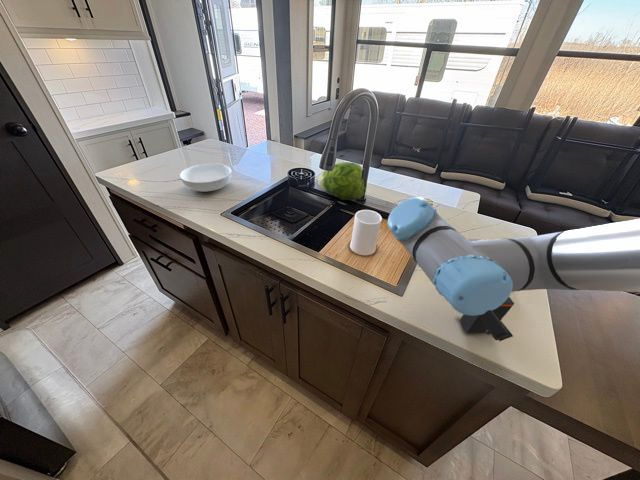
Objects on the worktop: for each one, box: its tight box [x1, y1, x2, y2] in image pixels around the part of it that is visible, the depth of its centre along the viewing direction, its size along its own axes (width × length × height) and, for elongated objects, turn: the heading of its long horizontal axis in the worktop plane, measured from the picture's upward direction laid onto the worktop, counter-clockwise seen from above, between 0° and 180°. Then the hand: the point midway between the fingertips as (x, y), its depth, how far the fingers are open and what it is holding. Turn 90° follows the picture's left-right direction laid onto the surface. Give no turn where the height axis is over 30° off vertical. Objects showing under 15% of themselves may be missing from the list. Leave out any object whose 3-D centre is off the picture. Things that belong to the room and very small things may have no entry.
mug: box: [349, 209, 383, 256], centre depth 81 cm, size 12×8×12 cm
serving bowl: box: [179, 162, 233, 192], centre depth 111 cm, size 21×21×7 cm
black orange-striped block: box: [459, 296, 515, 334], centre depth 58 cm, size 4×6×11 cm, turn 92°
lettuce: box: [317, 161, 368, 201], centre depth 108 cm, size 16×21×15 cm
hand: (487, 309), depth 58 cm, fingers open, 13 cm apart
